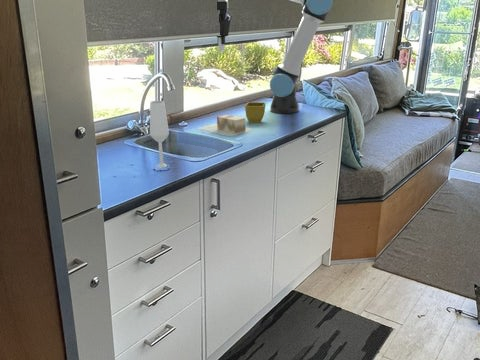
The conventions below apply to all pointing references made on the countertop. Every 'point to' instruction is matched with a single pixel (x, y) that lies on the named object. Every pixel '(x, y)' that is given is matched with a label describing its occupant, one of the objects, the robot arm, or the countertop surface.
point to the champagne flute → (158, 126)
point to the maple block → (231, 123)
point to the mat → (214, 129)
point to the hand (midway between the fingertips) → (221, 50)
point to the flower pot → (255, 111)
